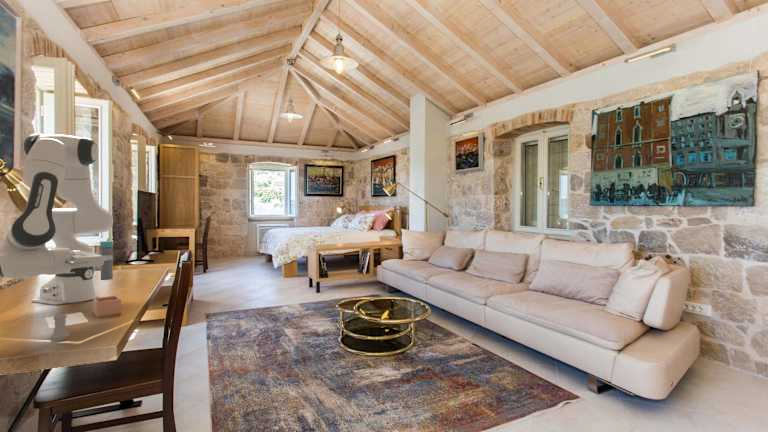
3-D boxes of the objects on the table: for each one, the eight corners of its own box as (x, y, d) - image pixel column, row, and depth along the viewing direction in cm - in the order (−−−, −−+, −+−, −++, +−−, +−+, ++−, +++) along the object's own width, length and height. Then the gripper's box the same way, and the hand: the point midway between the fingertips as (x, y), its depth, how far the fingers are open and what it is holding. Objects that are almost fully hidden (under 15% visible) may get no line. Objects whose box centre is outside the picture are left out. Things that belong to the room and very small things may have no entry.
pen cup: (93, 314, 139) (93, 298, 139) (116, 310, 144) (116, 295, 144) (96, 318, 134) (96, 302, 134) (120, 314, 139) (120, 298, 139)
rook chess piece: (58, 337, 115) (58, 311, 115) (73, 337, 115) (73, 311, 115) (46, 343, 110) (46, 316, 110) (62, 342, 111) (62, 316, 111)
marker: (98, 280, 136) (97, 242, 136) (104, 278, 140) (104, 241, 140) (109, 280, 137) (109, 242, 137) (115, 278, 141) (115, 241, 140)
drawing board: (37, 319, 132) (37, 317, 132) (83, 312, 141) (83, 310, 141) (41, 333, 118) (41, 331, 118) (93, 324, 128) (93, 322, 128)
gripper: (71, 254, 122) (120, 250, 133) (53, 249, 134) (99, 246, 145) (71, 273, 122) (120, 268, 133) (53, 266, 134) (100, 262, 145)
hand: (109, 256), depth 139 cm, fingers closed on marker, 4 cm apart
